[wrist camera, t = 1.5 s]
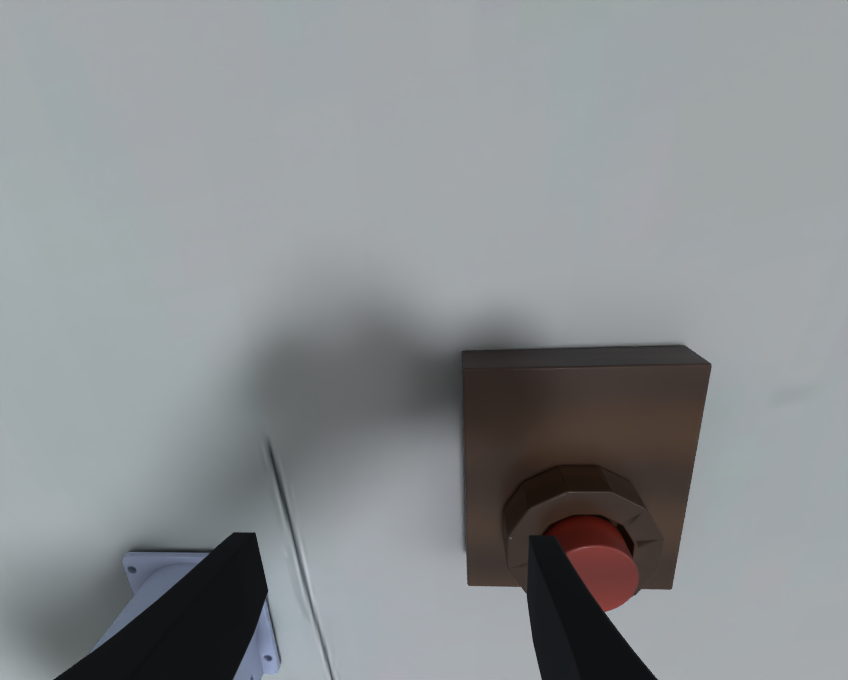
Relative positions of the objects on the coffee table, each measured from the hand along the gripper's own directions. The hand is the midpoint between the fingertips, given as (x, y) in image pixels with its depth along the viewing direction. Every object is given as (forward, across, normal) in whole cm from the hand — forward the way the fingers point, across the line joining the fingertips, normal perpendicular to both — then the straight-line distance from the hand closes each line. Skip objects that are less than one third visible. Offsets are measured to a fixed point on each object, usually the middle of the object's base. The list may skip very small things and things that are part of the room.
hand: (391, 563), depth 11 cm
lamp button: (+7, -7, +6) cm, 11 cm away
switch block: (+10, -7, +4) cm, 13 cm away
